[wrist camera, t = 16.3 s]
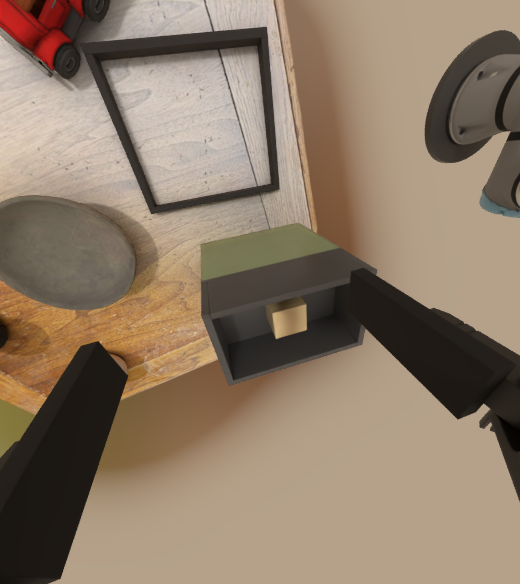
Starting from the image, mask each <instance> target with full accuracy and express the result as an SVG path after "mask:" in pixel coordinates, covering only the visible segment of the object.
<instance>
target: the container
mask: <svg viewBox="0 0 520 584" xmlns="http://www.w3.org/2000/svg"><path fill="white" fill-rule="evenodd" d="M7 340H8V335H7V331H6V330H5V328H4V327H3V325H1V324H0V348H1V347H3V346H4V345H5V343H6V342H7Z"/></svg>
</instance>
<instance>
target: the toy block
mask: <svg viewBox="0 0 520 584" xmlns="http://www.w3.org/2000/svg"><path fill="white" fill-rule="evenodd" d="M265 309H266V316H267V320H268V322H269V324H270V327H271V329H272V331H273V334H274V336H275V338H276V339H277V338H281V337H284V336H288V335H291V334H295V333H298V332H302V331H305V330H307V311H306V303H305V302H304V301H303V299H302V298H301V297H300V296H299V297H295V298H291V299H287V300H284V301H280V302H276V303H272V304H269V305H265Z"/></svg>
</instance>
